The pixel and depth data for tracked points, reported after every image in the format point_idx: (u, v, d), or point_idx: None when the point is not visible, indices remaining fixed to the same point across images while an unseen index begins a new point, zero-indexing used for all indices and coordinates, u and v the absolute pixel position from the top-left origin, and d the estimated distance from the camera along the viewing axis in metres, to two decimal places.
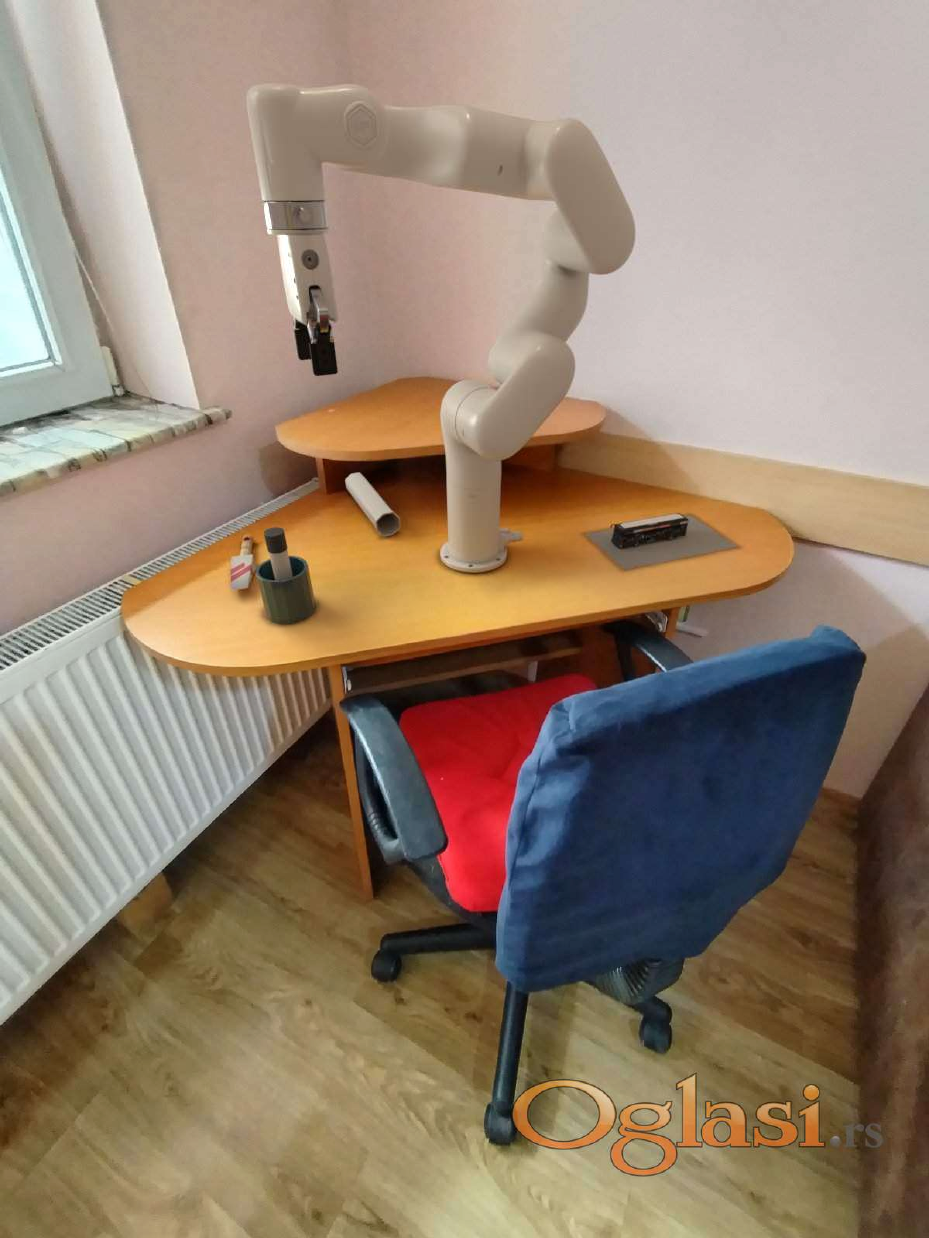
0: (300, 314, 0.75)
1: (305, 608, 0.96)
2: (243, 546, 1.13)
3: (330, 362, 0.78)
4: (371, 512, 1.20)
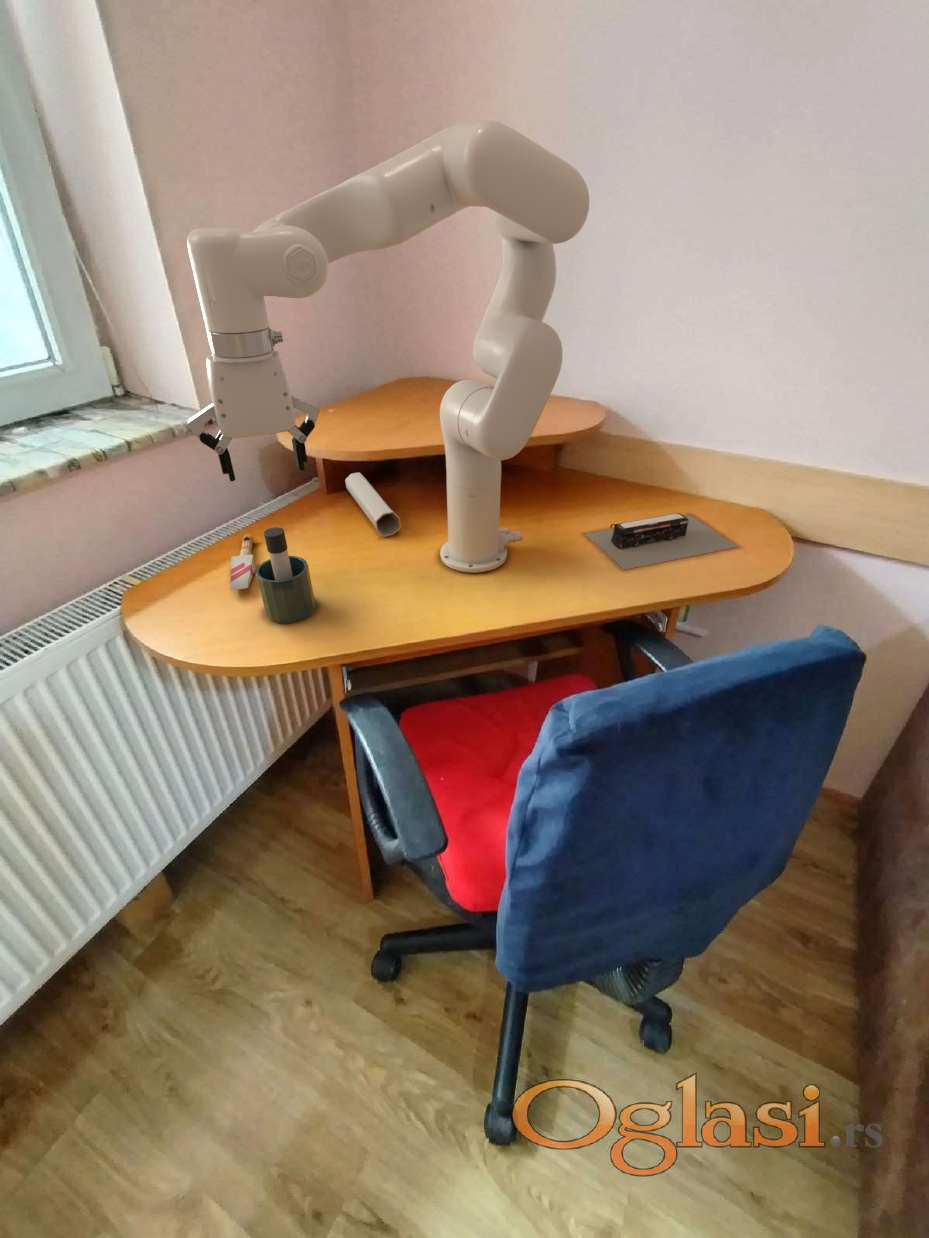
0: (290, 422, 0.81)
1: (305, 608, 0.96)
2: (243, 546, 1.13)
3: None
4: (371, 512, 1.20)
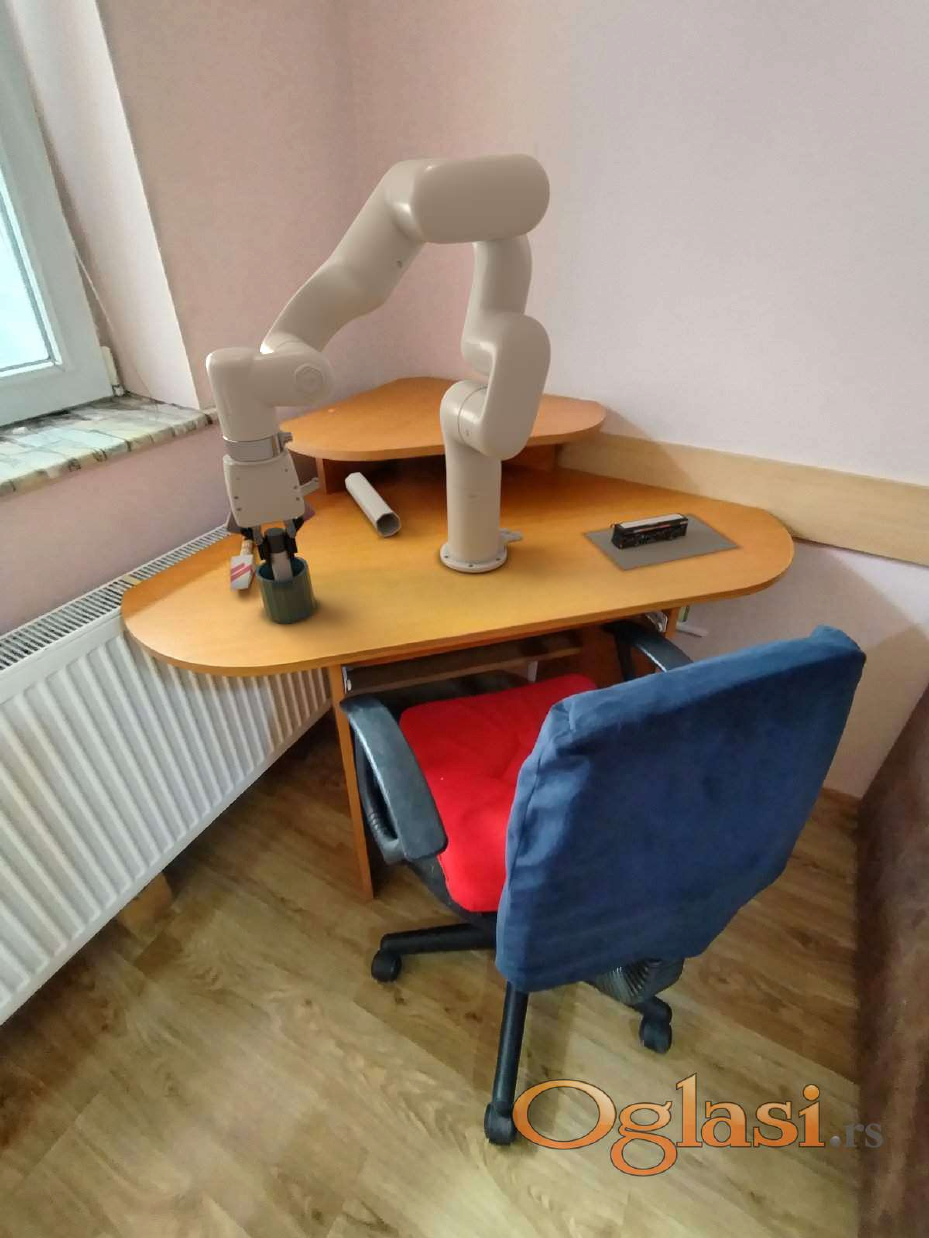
0: (299, 510, 0.88)
1: (305, 608, 0.96)
2: (243, 546, 1.13)
3: None
4: (371, 512, 1.20)
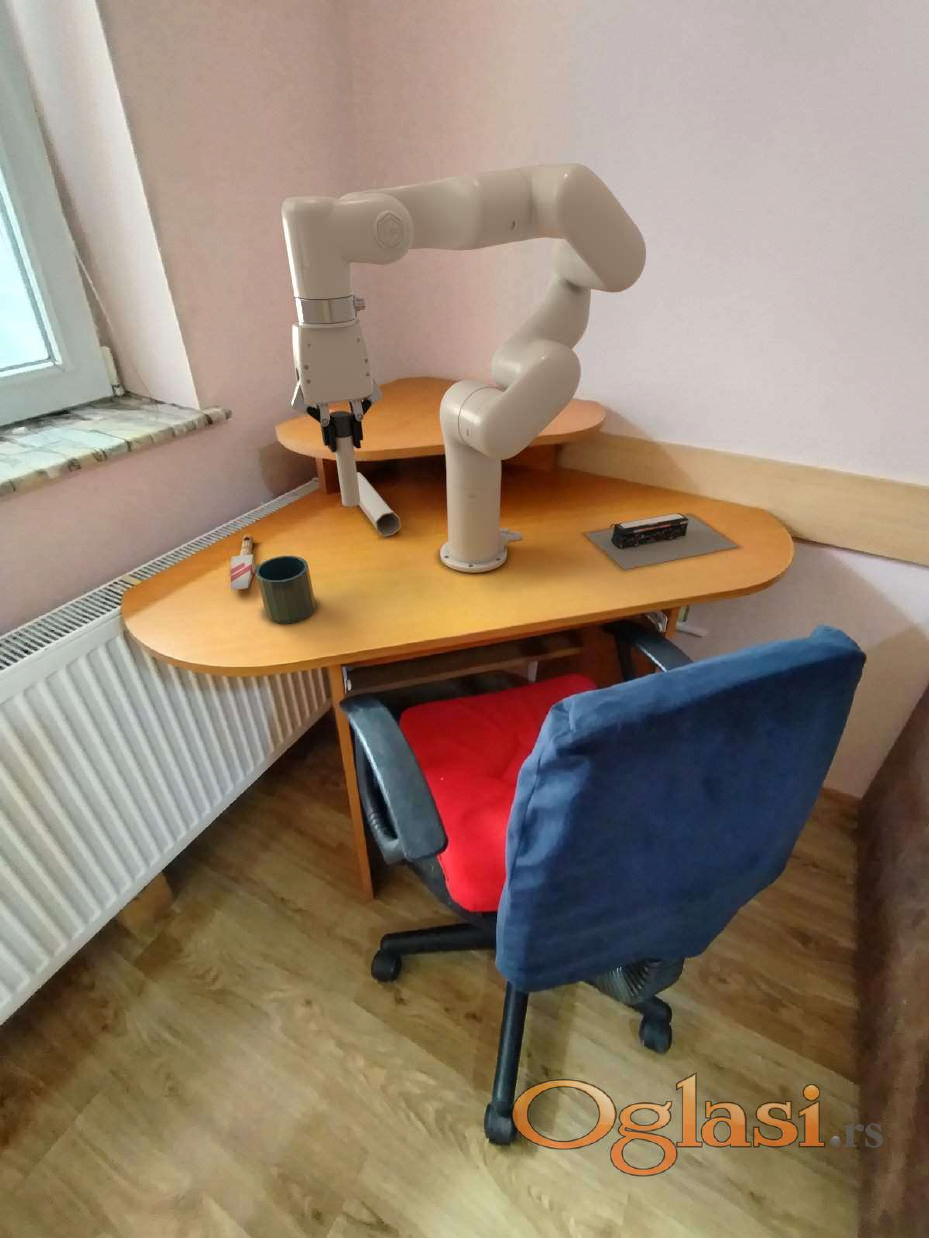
0: (368, 388, 0.84)
1: (305, 608, 0.96)
2: (243, 546, 1.13)
3: None
4: (371, 512, 1.20)
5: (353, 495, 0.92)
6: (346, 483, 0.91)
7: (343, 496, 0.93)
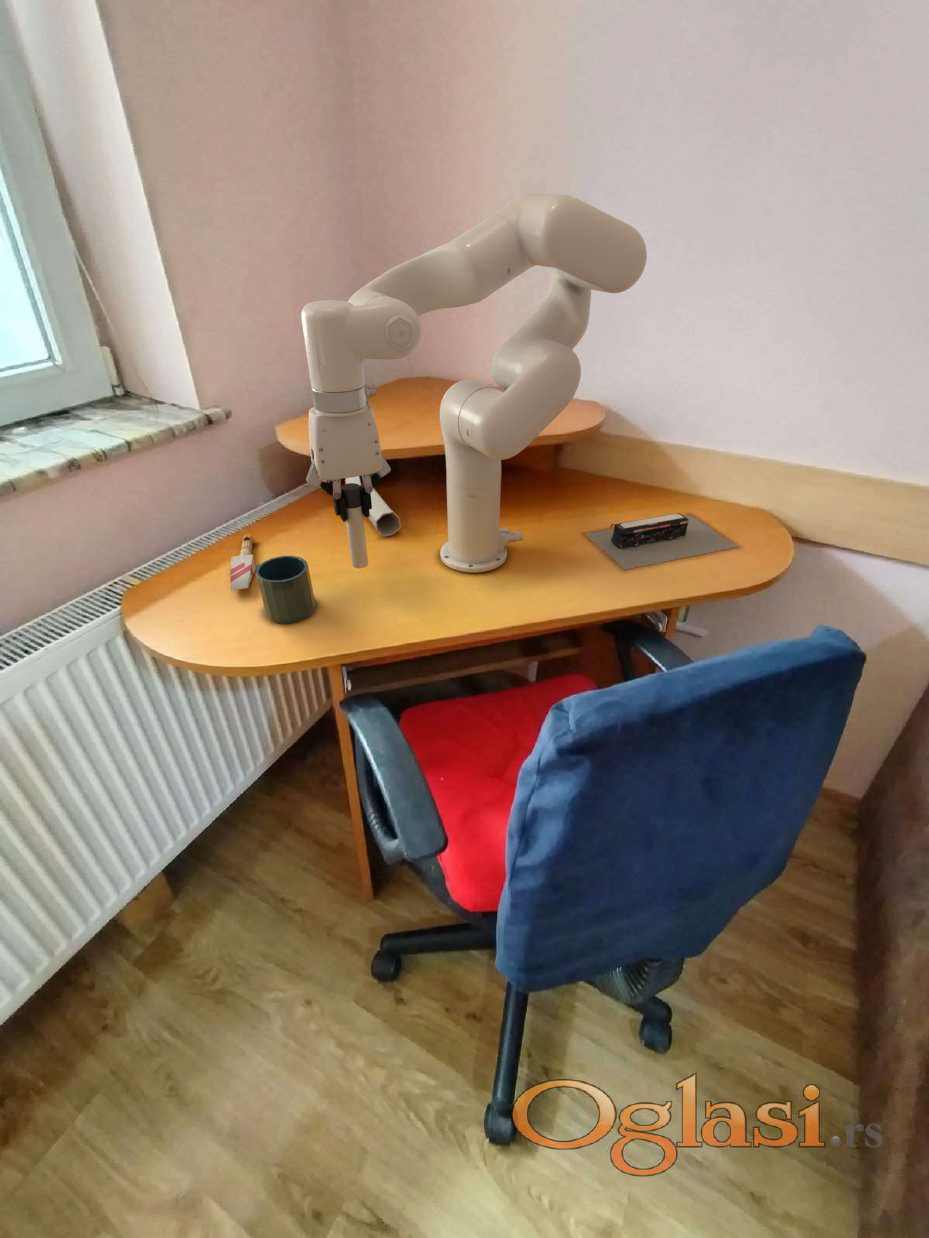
0: (378, 465, 0.91)
1: (305, 608, 0.96)
2: (243, 546, 1.13)
3: None
4: (371, 512, 1.20)
5: (362, 558, 0.99)
6: (355, 548, 0.98)
7: (352, 559, 0.99)
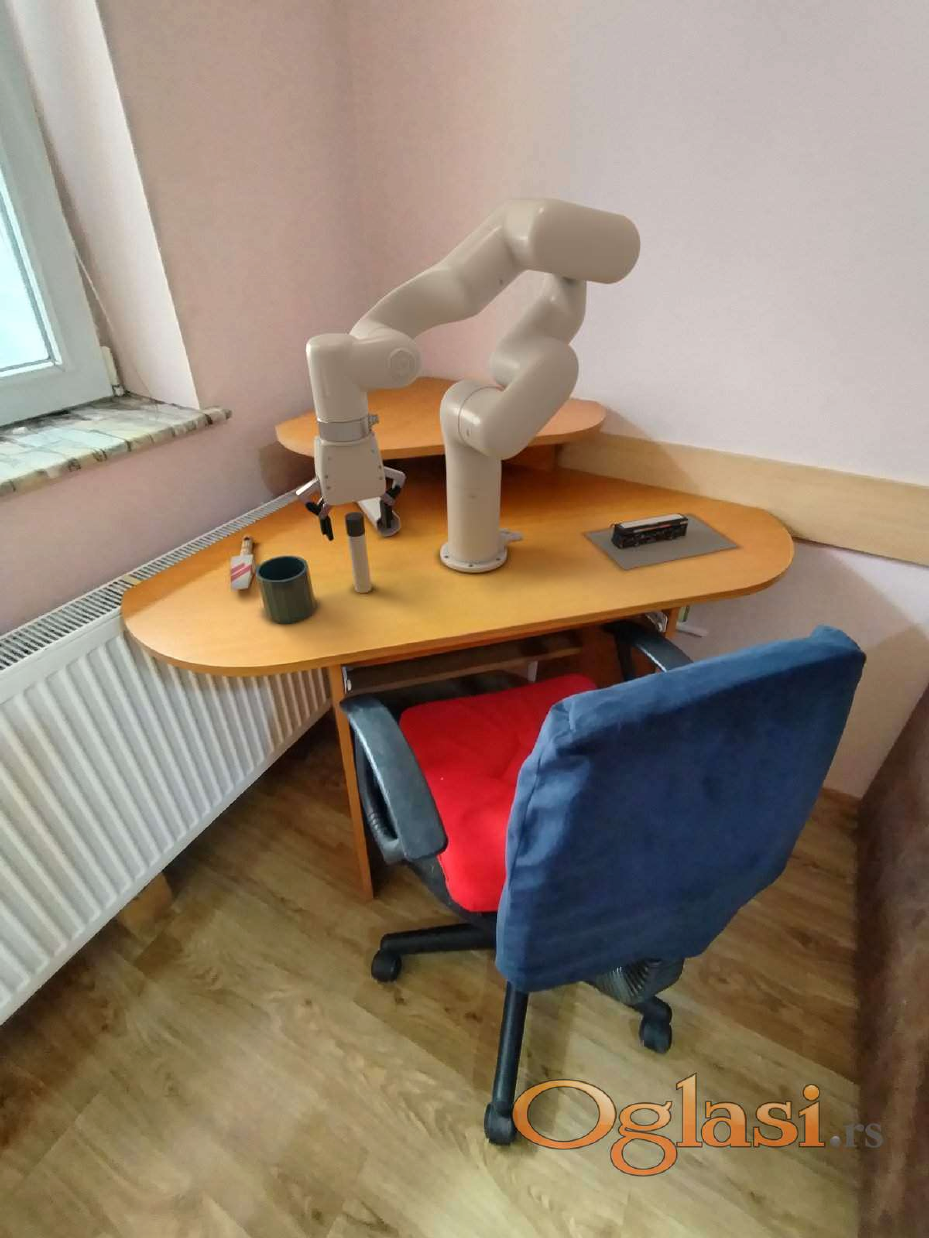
0: (382, 489, 0.93)
1: (305, 608, 0.96)
2: (243, 546, 1.13)
3: None
4: (371, 512, 1.20)
5: (365, 583, 1.02)
6: (358, 574, 1.01)
7: (356, 584, 1.02)
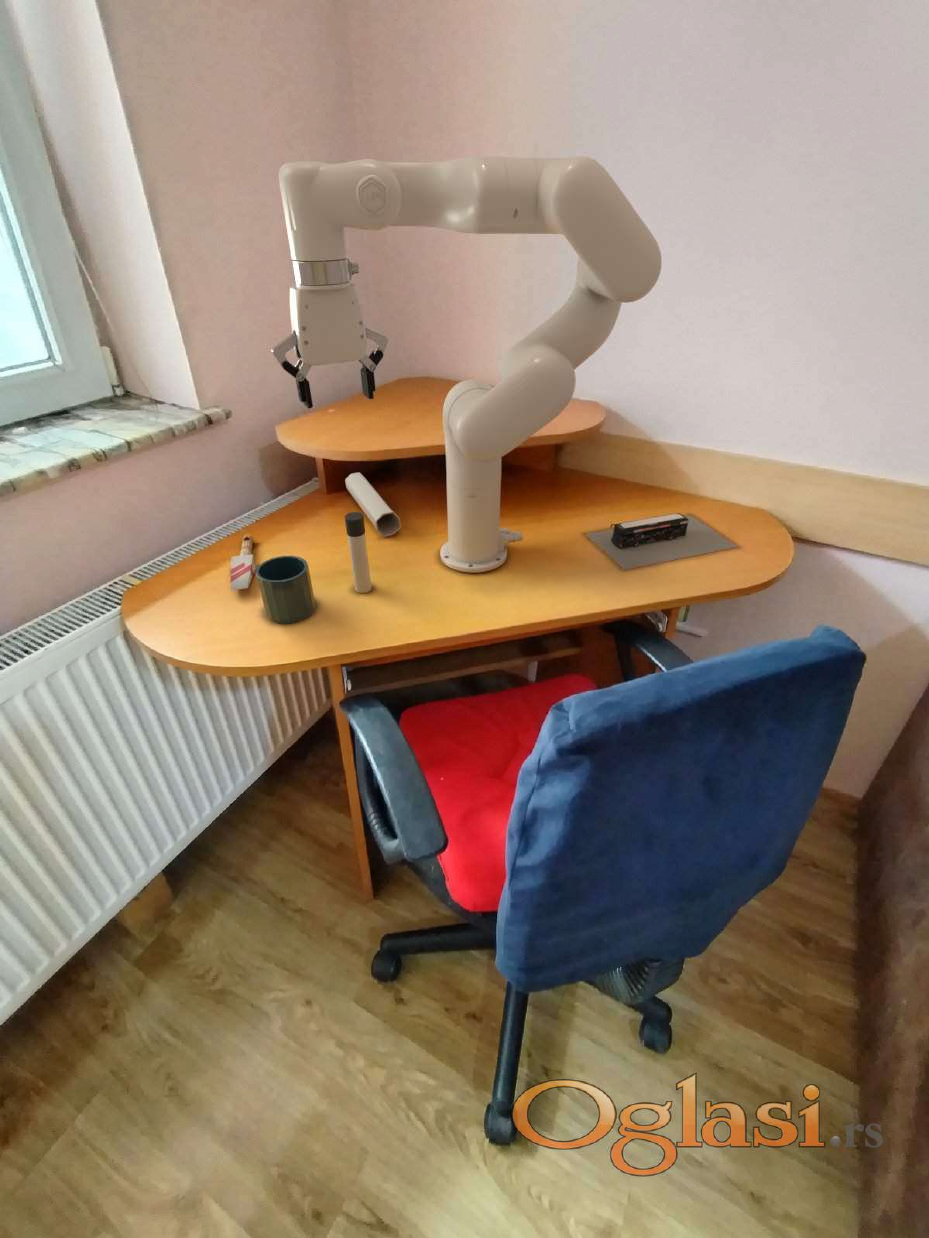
0: (363, 350, 0.88)
1: (305, 608, 0.96)
2: (243, 546, 1.13)
3: None
4: (371, 512, 1.20)
5: (365, 583, 1.02)
6: (358, 574, 1.01)
7: (356, 584, 1.02)
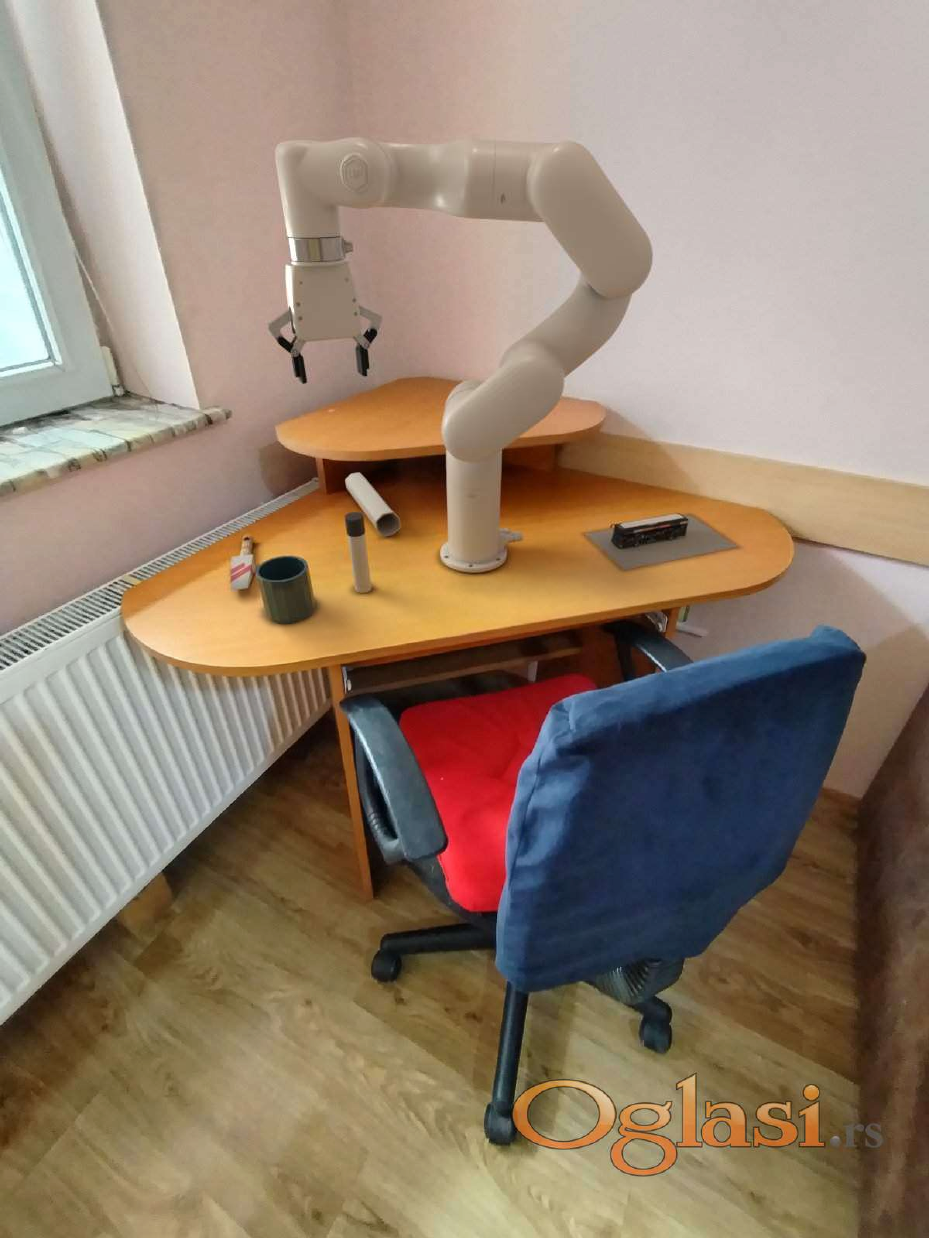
0: (356, 327, 0.90)
1: (305, 608, 0.96)
2: (243, 546, 1.13)
3: None
4: (371, 512, 1.20)
5: (365, 583, 1.02)
6: (358, 574, 1.01)
7: (356, 584, 1.02)
